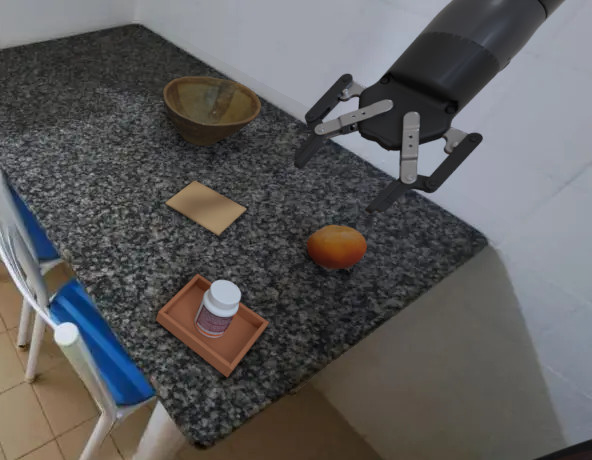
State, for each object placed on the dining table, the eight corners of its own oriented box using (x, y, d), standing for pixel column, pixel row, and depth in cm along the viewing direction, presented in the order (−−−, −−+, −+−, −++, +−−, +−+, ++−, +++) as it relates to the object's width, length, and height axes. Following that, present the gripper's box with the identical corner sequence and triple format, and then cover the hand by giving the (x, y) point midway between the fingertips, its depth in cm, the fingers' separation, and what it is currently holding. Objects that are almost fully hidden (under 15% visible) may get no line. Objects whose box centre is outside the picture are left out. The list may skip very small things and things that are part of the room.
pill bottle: (230, 339, 56) (248, 307, 50) (196, 338, 56) (211, 306, 50) (222, 310, 60) (239, 277, 53) (190, 310, 60) (204, 276, 53)
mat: (246, 210, 76) (246, 208, 75) (218, 236, 71) (218, 234, 71) (194, 181, 82) (194, 180, 81) (165, 203, 77) (165, 202, 76)
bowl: (264, 133, 95) (280, 94, 88) (218, 176, 83) (232, 135, 76) (186, 102, 105) (195, 65, 98) (135, 137, 93) (141, 97, 86)
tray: (263, 330, 58) (269, 322, 56) (227, 377, 53) (232, 370, 51) (194, 282, 64) (197, 273, 62) (155, 320, 59) (158, 311, 57)
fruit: (332, 284, 62) (336, 236, 60) (296, 267, 69) (299, 224, 67) (376, 276, 63) (381, 229, 61) (336, 261, 71) (340, 218, 68)
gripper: (386, 6, 38) (269, 145, 43) (563, 67, 31) (398, 225, 36) (382, 42, 44) (280, 161, 49) (530, 100, 37) (393, 232, 42)
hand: (330, 188), depth 43 cm, fingers open, 8 cm apart
